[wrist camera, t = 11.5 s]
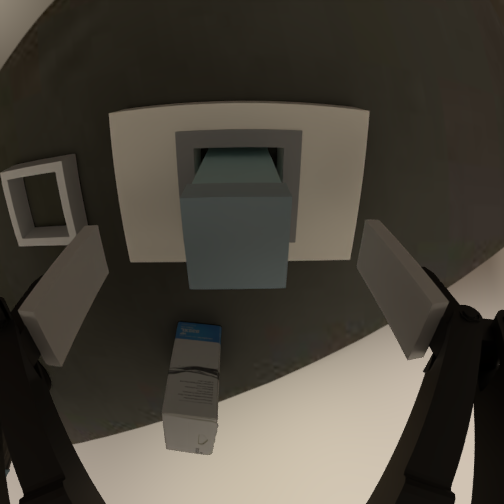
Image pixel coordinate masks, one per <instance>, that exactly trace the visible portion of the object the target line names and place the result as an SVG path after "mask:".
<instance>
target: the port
mask: <svg viewBox="0 0 504 504" xmlns="http://www.w3.org/2000/svg"><path fill="white" fill-rule="evenodd" d="M109 122H110V134H111V144H112V153H113V162H114V170H115V177H116V185H117V191H118V198H119V204H120V210H121V216H122V222H123V228H124V233H125V238H126V243H127V248H128V253H129V258H130V262H186V255H185V246H184V237H183V227H182V217H181V207H180V197H181V195H182V193H183V191H184V189H185V187H186V185H187V184H192V182H193V180H194V178H195V175H196V173H197V171H198V169H199V167H200V165H201V148H225V147H277V173H278V175H279V177H280V180H281V182H282V183H286V184H287V186H288V188H289V191H290V193H291V195H292V210H291V225H290V239H289V253H288V261H305V260H350V256H351V250H352V245H353V239H354V233H355V227H356V221H357V215H358V208H359V202H360V195H361V187H362V180H363V172H364V163H365V154H366V145H367V135H368V123H369V111H367V110H363V109H359V108H355V107H349V106H339V105H329V104H317V103H303V102H283V101H211V102H191V103H177V104H165V105H154V106H145V107H137V108H129V109H124V110H120V111H116V112H112V113H109Z"/></svg>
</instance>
